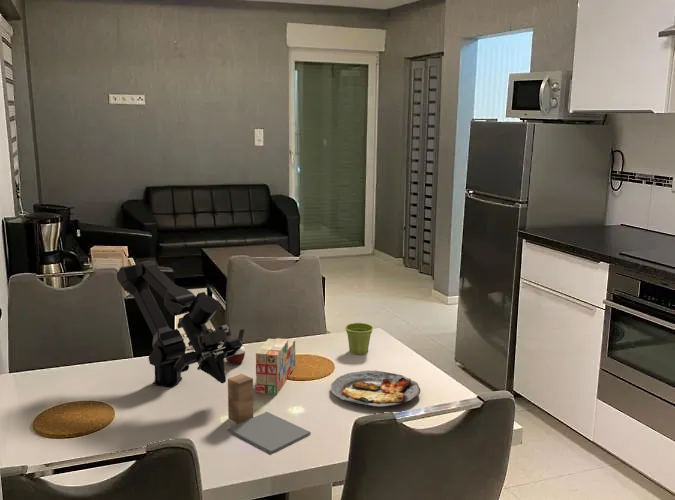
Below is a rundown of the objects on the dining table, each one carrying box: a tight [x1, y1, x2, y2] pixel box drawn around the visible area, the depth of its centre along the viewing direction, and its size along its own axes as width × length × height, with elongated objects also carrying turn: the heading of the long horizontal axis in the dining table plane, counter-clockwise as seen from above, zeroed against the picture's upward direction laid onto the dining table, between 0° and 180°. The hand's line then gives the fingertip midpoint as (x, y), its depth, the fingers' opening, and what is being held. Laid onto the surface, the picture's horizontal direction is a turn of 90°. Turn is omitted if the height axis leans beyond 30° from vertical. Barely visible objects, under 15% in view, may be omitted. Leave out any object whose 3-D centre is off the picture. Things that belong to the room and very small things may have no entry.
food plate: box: [330, 370, 421, 408], centre depth 181 cm, size 25×23×4 cm
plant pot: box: [344, 322, 374, 356], centre depth 213 cm, size 9×9×9 cm
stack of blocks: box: [255, 337, 296, 396], centre depth 188 cm, size 21×6×12 cm, turn 170°
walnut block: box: [227, 373, 254, 424], centre depth 163 cm, size 4×4×11 cm
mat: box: [227, 411, 312, 455], centre depth 157 cm, size 16×13×1 cm
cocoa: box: [225, 328, 246, 365], centre depth 201 cm, size 10×6×12 cm, turn 16°
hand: (224, 382), depth 167 cm, fingers closed
